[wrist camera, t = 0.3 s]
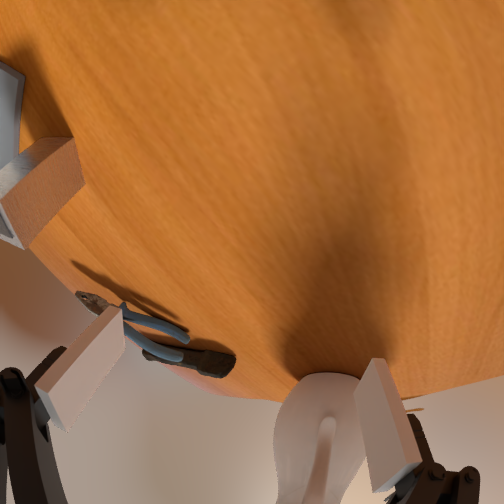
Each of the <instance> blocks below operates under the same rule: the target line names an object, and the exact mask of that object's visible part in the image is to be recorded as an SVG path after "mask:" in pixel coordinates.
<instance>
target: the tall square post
mask: <svg viewBox="0 0 504 504" xmlns="http://www.w3.org/2000/svg"><path fill="white" fill-rule="evenodd" d="M85 184H86V183H85V180H84V176H83V172H82V169H81V165H80V161H79V157H78V152H77V148H76V144H75V139H74V137H42V138H40V139H39V140H38V141H36V142H35V143H34V144H32V145H31V146H29V147H28V148H27V149H26V150H24V151H23V152H22V153H20V154H19V155H18V156H17V157H15V158H14V159H13V160H12V161H11V162H9V163H8V164H7V165H6V166H5V167H3V168H2V169H1V170H0V239H3V240H5V241H7V242H9V243H11V244H13V245H15V246H17V247H19V248H21V249H24V250H26V248H27V247H28V246H29V245H30V244H31V242H32V241H33V240H34V239H35V238H36V236H37V235H38V234H39V233H40V232H41V231H42V229H43V228H44V227H45V226H46V225H47V224H48V223H49V221H50V220H51V219H52V218H53V217H54V216H55V215H56V214H57V213H58V212H59V211H60V209H61V208H62V207H63V206H64V205H65V204H66V203H67V202H68V201H69V200H70V199H71V198H72V197H73V196H74V195H75V194H76V193H77V192H78V191H79V190H80V189H81V188H82V187H83V186H84V185H85Z"/></svg>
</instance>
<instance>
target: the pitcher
mask: <svg viewBox="0 0 504 504" xmlns="http://www.w3.org/2000/svg"><path fill="white" fill-rule="evenodd" d="M359 382H360V380H359V379H357V378H355V377H353V376H350V375H346V374H341V373H329V372H325V373H314V374H309V375H307V376H305V377H304V378H302V379H301V380H300V381H299V382H298V383H297V385H296V386H295V387H294V388H293V389H292V390H291V392H290V393H289V394H288V396H287V397H286V399H285V400H284V402H283V404H282V406H281V408H280V410H279V413H278V416H277V419H276V424H275V428H274V438H273V446H274V447H273V448H274V459H275V465H276V471H277V477H278V489H279V490H278V499H277V502H276V504H340V502H341V499H342V497H343V495H344V493H345V491H346V489H347V488H348V486H349V484H350V483H351V481H352V480H353V478H354V476H355V475H356V473H357V472H358V470H359V468H360V466H361V465H362V463H363V461H364V459H365V457H366V451H365V446H364V441H363V436H362V431H361V426H360V421H359V417H358V412H357V408H356V403H355V399H354V395H353V393H354V391H355V389H356V387H357V386H358V384H359Z"/></svg>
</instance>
